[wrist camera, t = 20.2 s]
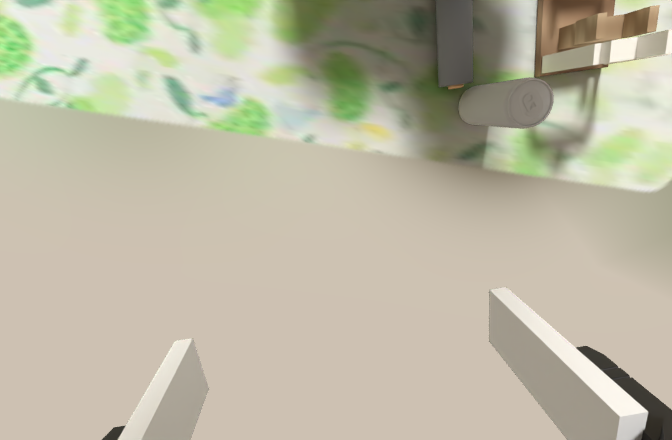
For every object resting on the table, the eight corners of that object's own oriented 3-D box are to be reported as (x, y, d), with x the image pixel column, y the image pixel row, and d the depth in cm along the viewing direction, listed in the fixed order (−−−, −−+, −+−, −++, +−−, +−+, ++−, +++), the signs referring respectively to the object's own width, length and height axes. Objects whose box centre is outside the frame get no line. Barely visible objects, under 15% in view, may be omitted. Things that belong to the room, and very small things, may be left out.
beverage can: (465, 131, 45) (518, 138, 34) (449, 99, 44) (499, 95, 33) (497, 111, 45) (562, 111, 34) (482, 78, 44) (544, 66, 32)
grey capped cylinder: (447, -15, 41) (427, -19, 39) (479, -28, 38) (460, -33, 36) (449, 89, 45) (432, 91, 42) (479, 84, 42) (462, 87, 39)
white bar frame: (542, 56, 42) (632, 34, 31) (610, 46, 43) (725, 21, 31) (541, 73, 43) (629, 59, 31) (608, 64, 43) (720, 46, 31)
